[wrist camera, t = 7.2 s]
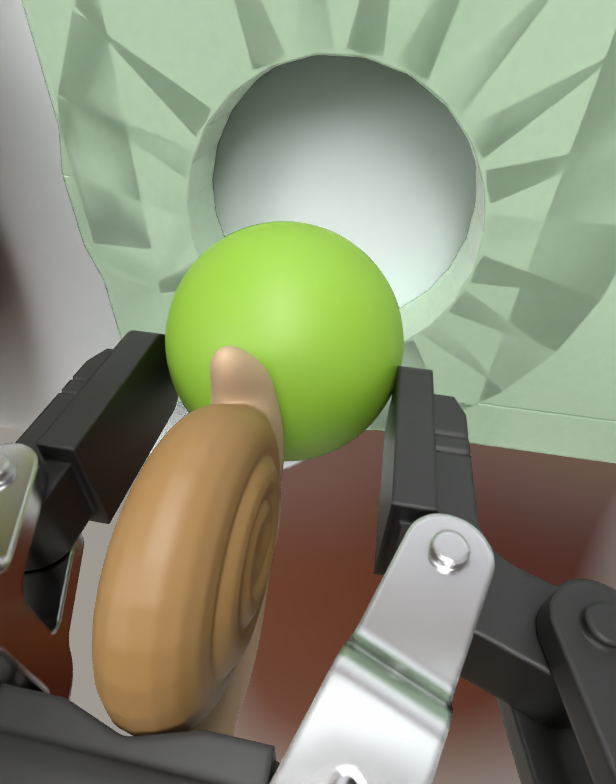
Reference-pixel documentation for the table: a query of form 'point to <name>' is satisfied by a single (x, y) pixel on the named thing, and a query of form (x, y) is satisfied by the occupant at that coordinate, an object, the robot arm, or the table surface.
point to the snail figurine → (235, 464)
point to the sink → (472, 113)
